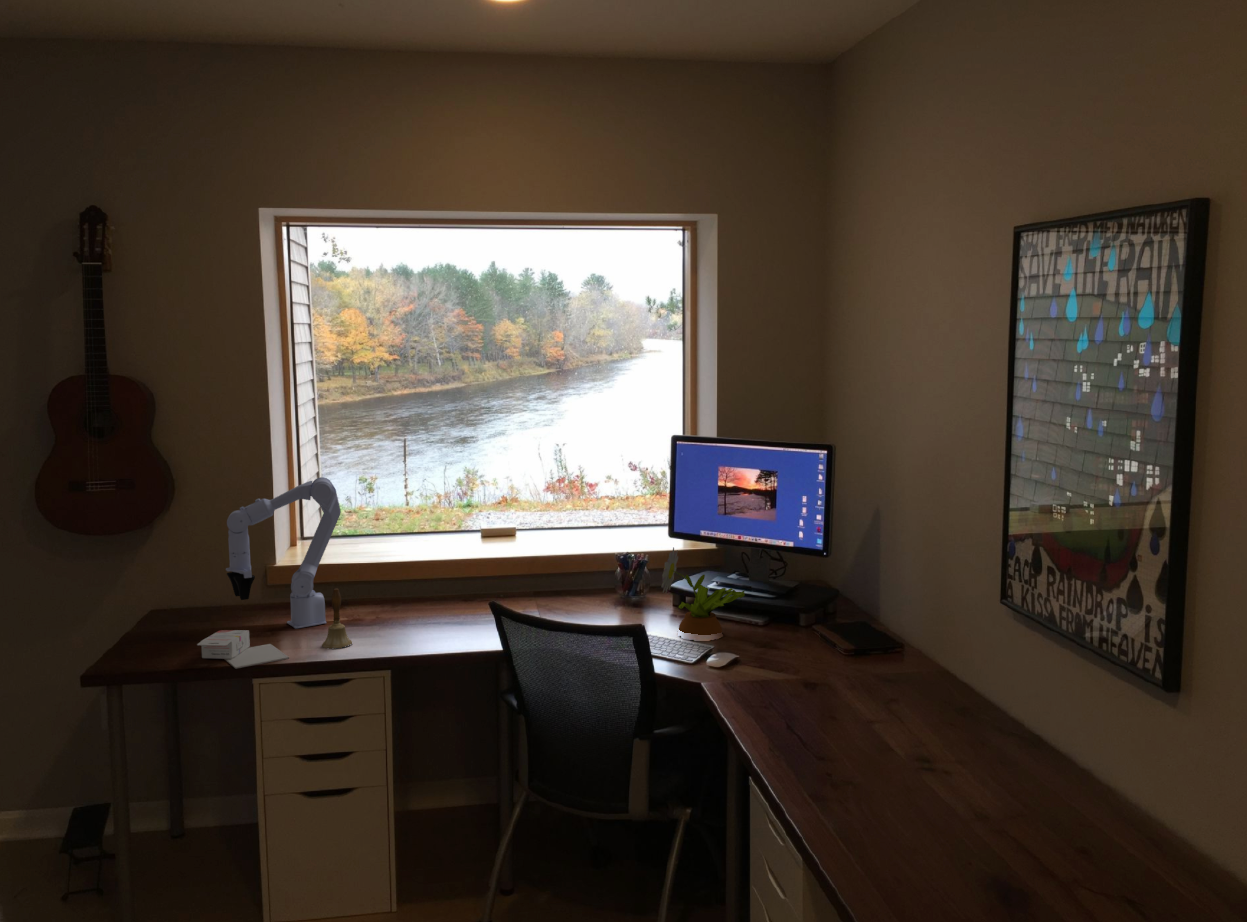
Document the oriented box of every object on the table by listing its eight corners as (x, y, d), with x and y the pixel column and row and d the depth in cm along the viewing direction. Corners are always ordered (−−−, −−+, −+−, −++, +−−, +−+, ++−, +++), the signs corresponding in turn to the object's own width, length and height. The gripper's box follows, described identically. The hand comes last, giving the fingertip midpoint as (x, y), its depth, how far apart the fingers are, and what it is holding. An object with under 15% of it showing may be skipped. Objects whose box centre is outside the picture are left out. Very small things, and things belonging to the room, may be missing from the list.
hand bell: (337, 638, 299) (335, 584, 297) (359, 643, 295) (356, 587, 293) (315, 646, 292) (313, 590, 290) (337, 651, 288) (334, 594, 286)
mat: (270, 645, 293) (270, 643, 293) (289, 658, 281) (288, 657, 281) (218, 654, 285) (218, 653, 285) (235, 668, 273) (235, 667, 273)
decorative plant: (675, 620, 316) (676, 538, 313) (754, 627, 308) (755, 543, 305) (647, 645, 291) (647, 557, 288) (733, 654, 283) (733, 563, 280)
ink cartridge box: (220, 647, 291) (195, 662, 277) (219, 629, 291) (194, 643, 276) (250, 647, 291) (227, 662, 276) (249, 629, 290) (226, 643, 276)
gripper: (218, 549, 310) (220, 594, 312) (233, 558, 298) (235, 604, 300) (242, 546, 314) (244, 591, 316) (258, 554, 302) (260, 600, 304)
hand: (241, 597), depth 308 cm, fingers open, 5 cm apart
